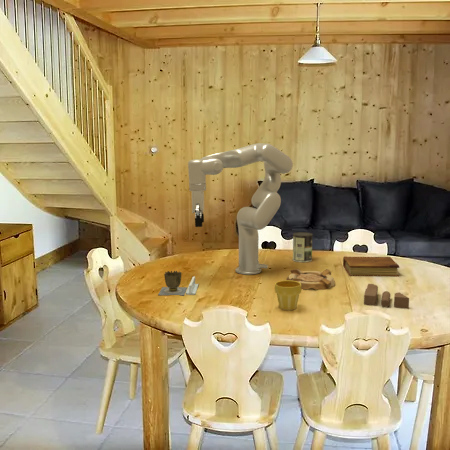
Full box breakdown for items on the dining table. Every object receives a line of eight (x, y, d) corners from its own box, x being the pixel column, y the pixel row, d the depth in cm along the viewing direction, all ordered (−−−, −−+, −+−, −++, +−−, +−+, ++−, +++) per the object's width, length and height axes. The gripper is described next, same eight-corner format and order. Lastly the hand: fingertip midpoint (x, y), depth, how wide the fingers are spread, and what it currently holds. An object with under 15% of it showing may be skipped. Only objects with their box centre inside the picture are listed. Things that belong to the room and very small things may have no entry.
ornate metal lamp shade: (179, 293, 233) (178, 275, 232) (162, 292, 235) (161, 274, 233) (183, 288, 240) (183, 270, 239) (167, 287, 242) (167, 270, 240)
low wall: (198, 285, 247) (198, 276, 246) (195, 294, 233) (195, 285, 232) (189, 285, 247) (189, 276, 246) (185, 294, 233) (185, 285, 233)
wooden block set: (364, 292, 218) (367, 280, 235) (363, 306, 219) (366, 293, 236) (409, 296, 212) (409, 283, 229) (408, 310, 214) (408, 296, 230)
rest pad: (187, 288, 243) (187, 287, 243) (184, 295, 232) (184, 294, 232) (162, 287, 243) (162, 286, 243) (158, 295, 233) (158, 294, 232)
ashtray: (298, 273, 266) (299, 263, 266) (345, 281, 253) (345, 270, 252) (273, 285, 247) (273, 274, 247) (322, 294, 234) (322, 283, 233)
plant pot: (272, 303, 221) (272, 280, 219) (297, 302, 222) (298, 279, 220) (276, 312, 211) (277, 287, 209) (303, 311, 212) (304, 286, 210)
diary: (389, 267, 278) (389, 256, 277) (398, 278, 259) (399, 266, 258) (342, 266, 279) (343, 255, 278) (349, 277, 260) (349, 265, 259)
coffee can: (310, 257, 296) (311, 231, 294) (313, 262, 286) (314, 235, 284) (291, 257, 296) (291, 232, 294) (293, 262, 286) (293, 235, 284)
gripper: (191, 184, 256) (193, 221, 260) (187, 190, 239) (189, 228, 243) (207, 184, 256) (209, 220, 260) (204, 189, 239) (206, 228, 243)
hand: (199, 224), depth 251 cm, fingers open, 9 cm apart
